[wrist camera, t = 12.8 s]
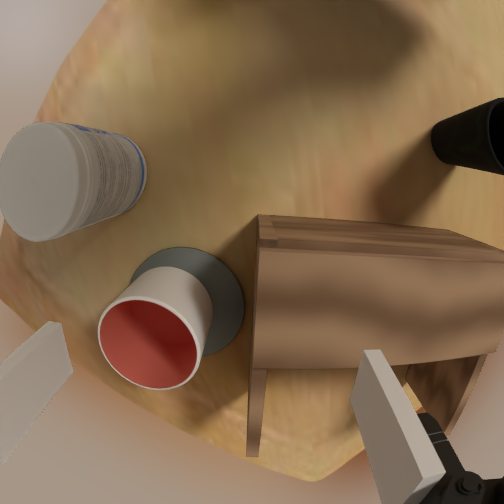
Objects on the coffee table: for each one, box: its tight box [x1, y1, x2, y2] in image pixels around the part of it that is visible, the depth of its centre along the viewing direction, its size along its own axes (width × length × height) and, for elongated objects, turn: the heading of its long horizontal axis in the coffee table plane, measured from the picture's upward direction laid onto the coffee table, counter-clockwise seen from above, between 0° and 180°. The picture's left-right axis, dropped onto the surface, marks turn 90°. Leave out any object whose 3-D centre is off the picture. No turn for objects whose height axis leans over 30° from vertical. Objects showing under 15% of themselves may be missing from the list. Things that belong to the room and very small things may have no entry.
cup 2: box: [431, 98, 504, 175], centre depth 25 cm, size 8×8×12 cm
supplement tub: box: [0, 122, 147, 242], centre depth 26 cm, size 10×10×15 cm
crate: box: [246, 215, 504, 457], centre depth 30 cm, size 22×24×14 cm
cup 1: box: [98, 267, 213, 390], centre depth 31 cm, size 10×10×10 cm
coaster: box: [130, 247, 244, 356], centre depth 36 cm, size 14×14×1 cm
